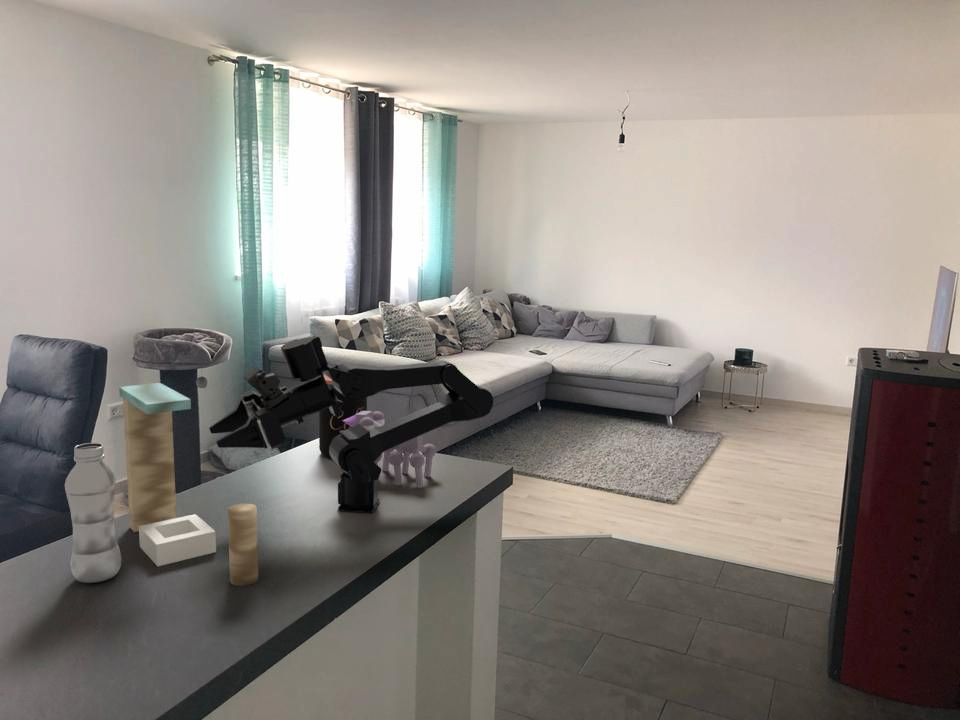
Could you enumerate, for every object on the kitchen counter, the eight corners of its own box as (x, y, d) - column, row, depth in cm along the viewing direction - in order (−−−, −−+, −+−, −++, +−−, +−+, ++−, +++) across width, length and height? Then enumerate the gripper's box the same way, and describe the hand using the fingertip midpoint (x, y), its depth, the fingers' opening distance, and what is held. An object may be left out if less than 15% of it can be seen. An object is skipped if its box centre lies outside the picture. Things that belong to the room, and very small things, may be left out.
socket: (196, 533, 131) (195, 514, 130) (216, 552, 124) (215, 531, 123) (139, 546, 125) (138, 526, 124) (157, 566, 118) (156, 544, 118)
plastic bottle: (130, 578, 114) (122, 446, 111) (81, 593, 109) (72, 456, 106) (111, 564, 118) (104, 437, 115) (64, 578, 113) (54, 446, 110)
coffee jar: (327, 463, 171) (326, 382, 167) (313, 450, 180) (313, 373, 177) (373, 457, 175) (373, 379, 172) (358, 445, 185) (358, 370, 182)
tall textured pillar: (171, 518, 137) (165, 382, 133) (202, 546, 126) (197, 398, 121) (126, 528, 132) (119, 386, 128) (154, 558, 121) (146, 404, 117)
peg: (262, 574, 116) (260, 504, 115) (252, 586, 112) (250, 514, 111) (236, 572, 117) (234, 502, 115) (225, 584, 113) (223, 512, 111)
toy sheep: (329, 478, 160) (330, 413, 159) (353, 466, 170) (354, 405, 169) (420, 490, 154) (422, 423, 153) (438, 477, 165) (441, 414, 163)
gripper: (274, 351, 143) (189, 383, 137) (297, 369, 126) (202, 406, 121) (294, 406, 146) (213, 439, 141) (319, 430, 130) (228, 469, 124)
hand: (213, 437), depth 131 cm, fingers open, 9 cm apart
